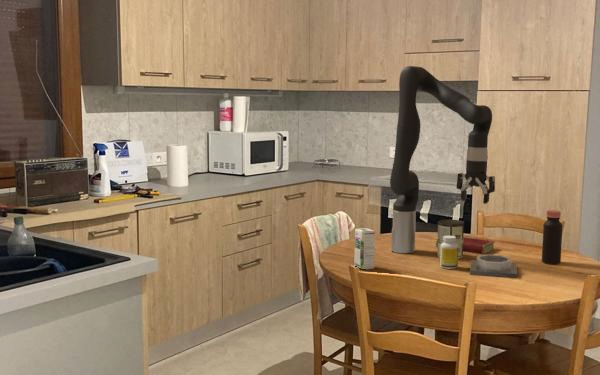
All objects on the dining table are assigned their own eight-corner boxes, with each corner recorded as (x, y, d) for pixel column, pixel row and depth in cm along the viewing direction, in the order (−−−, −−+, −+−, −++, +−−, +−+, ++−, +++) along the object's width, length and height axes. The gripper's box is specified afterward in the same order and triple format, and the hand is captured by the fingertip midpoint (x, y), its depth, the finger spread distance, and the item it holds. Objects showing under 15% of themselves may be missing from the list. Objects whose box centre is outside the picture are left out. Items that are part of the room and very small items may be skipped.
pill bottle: (457, 269, 236) (458, 239, 234) (440, 269, 237) (440, 238, 235) (457, 265, 242) (458, 235, 240) (439, 264, 243) (440, 234, 242)
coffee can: (445, 251, 264) (446, 218, 262) (467, 256, 257) (469, 221, 255) (431, 256, 256) (432, 221, 255) (454, 260, 249) (455, 225, 248)
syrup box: (353, 266, 240) (354, 228, 238) (367, 265, 243) (368, 227, 241) (361, 270, 235) (361, 231, 233) (375, 268, 237) (375, 230, 235)
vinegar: (546, 259, 251) (548, 209, 248) (563, 262, 246) (566, 211, 244) (538, 262, 246) (541, 211, 244) (555, 265, 241) (558, 213, 239)
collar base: (469, 274, 229) (470, 262, 229) (471, 263, 244) (472, 252, 244) (516, 278, 225) (517, 265, 224) (515, 266, 240) (516, 255, 239)
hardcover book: (483, 255, 259) (483, 245, 259) (435, 248, 272) (436, 238, 272) (494, 250, 269) (494, 240, 268) (448, 243, 281) (448, 234, 281)
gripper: (454, 158, 240) (452, 201, 243) (490, 161, 231) (488, 205, 234) (463, 157, 246) (461, 198, 248) (499, 159, 237) (496, 203, 239)
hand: (474, 202), depth 241 cm, fingers open, 8 cm apart
